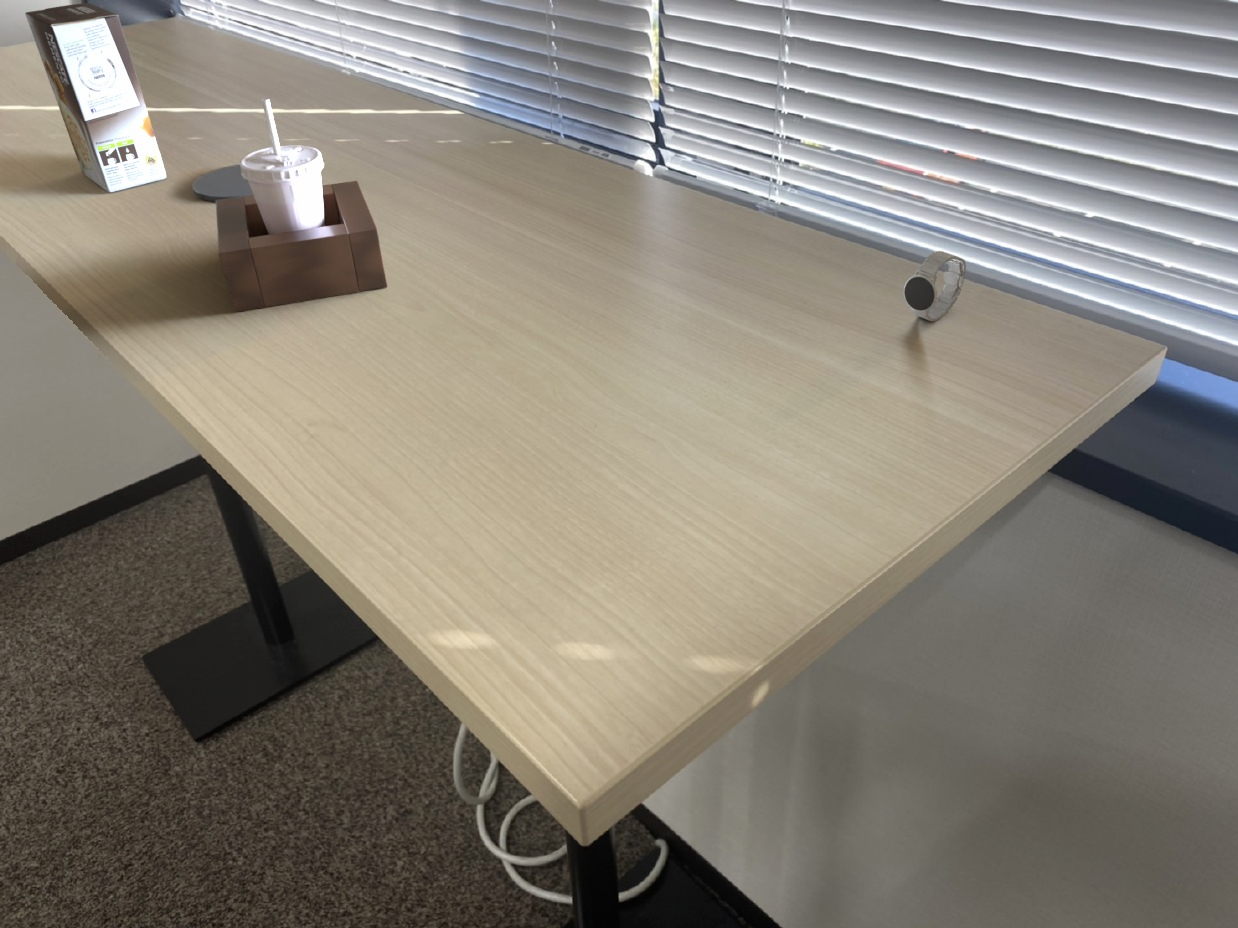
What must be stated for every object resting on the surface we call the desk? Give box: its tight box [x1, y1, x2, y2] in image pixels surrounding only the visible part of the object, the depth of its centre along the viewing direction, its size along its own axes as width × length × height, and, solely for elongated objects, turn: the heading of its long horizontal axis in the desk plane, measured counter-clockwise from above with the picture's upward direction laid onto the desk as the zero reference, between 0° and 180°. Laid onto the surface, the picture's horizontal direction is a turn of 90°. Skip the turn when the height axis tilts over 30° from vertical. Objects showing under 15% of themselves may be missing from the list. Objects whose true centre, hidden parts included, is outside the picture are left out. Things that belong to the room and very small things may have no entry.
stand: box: [215, 180, 388, 313], centre depth 81 cm, size 12×12×5 cm
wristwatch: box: [903, 250, 967, 322], centre depth 72 cm, size 3×5×5 cm, turn 131°
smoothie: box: [239, 98, 325, 235], centre depth 79 cm, size 6×6×14 cm
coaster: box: [192, 163, 253, 203], centre depth 100 cm, size 10×10×1 cm
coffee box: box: [24, 2, 168, 193], centre depth 98 cm, size 9×6×16 cm
